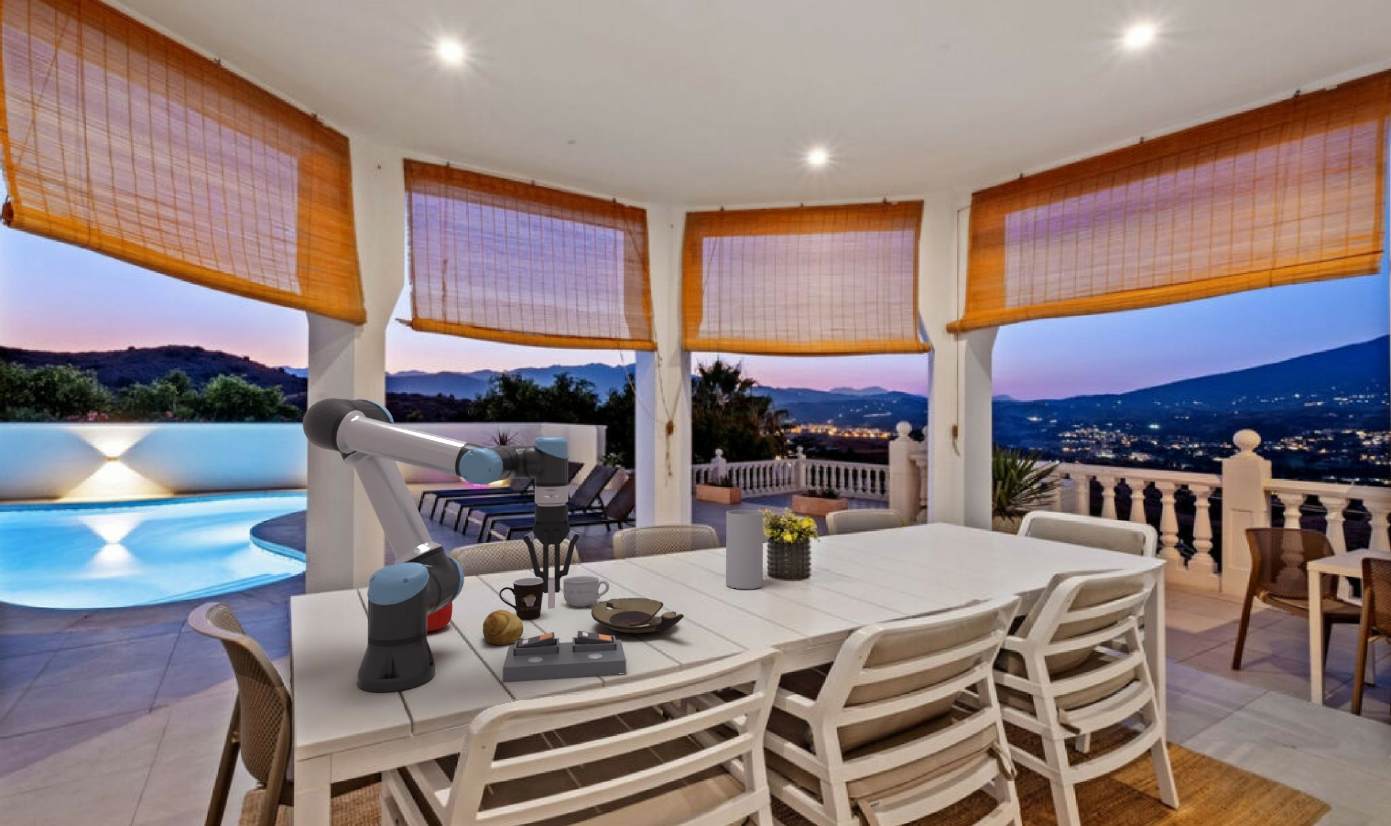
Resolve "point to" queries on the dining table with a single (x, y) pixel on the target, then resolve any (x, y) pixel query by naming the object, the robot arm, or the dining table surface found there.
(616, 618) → the oil lamp
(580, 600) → the teacup
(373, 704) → the dining table surface
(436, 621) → the tomato
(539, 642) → the left rocker
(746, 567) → the cylinder vase
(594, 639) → the right rocker
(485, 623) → the bread roll
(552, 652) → the rocker switch box
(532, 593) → the coffee mug
